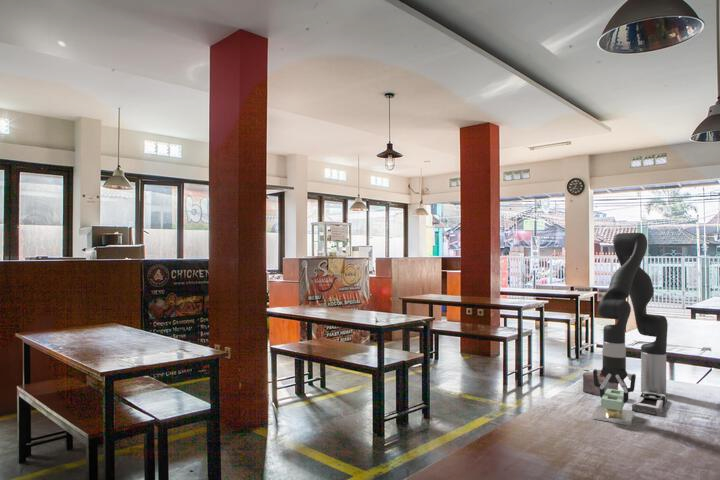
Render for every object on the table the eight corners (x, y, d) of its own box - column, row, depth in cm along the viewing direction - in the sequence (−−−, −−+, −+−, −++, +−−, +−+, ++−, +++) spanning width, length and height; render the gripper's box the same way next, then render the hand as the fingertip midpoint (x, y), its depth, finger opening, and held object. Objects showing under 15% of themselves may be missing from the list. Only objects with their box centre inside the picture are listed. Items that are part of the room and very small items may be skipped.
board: (607, 396, 187) (607, 388, 187) (626, 399, 183) (626, 391, 183) (601, 407, 174) (601, 398, 174) (621, 410, 170) (621, 402, 170)
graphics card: (631, 404, 185) (641, 389, 205) (631, 413, 185) (641, 397, 205) (663, 409, 179) (670, 393, 199) (663, 419, 179) (670, 402, 199)
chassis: (598, 409, 187) (598, 389, 187) (634, 415, 181) (634, 394, 181) (592, 418, 176) (592, 397, 176) (630, 425, 169) (630, 404, 170)
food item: (621, 396, 205) (621, 372, 205) (614, 400, 199) (614, 375, 200) (588, 389, 215) (588, 366, 215) (580, 392, 210) (580, 369, 210)
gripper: (637, 355, 178) (637, 401, 178) (594, 350, 186) (593, 395, 186) (635, 359, 172) (635, 407, 171) (590, 353, 180) (590, 399, 179)
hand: (614, 400), depth 179 cm, fingers closed on board, 6 cm apart
